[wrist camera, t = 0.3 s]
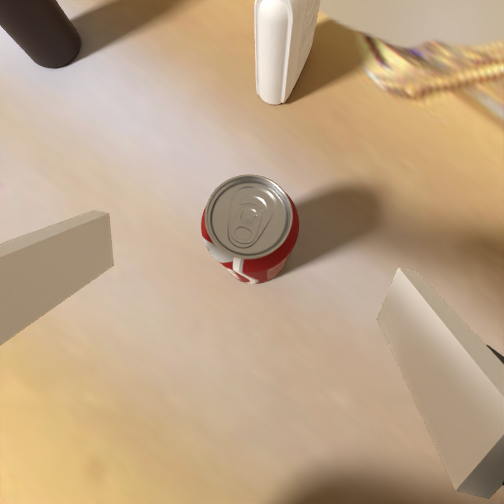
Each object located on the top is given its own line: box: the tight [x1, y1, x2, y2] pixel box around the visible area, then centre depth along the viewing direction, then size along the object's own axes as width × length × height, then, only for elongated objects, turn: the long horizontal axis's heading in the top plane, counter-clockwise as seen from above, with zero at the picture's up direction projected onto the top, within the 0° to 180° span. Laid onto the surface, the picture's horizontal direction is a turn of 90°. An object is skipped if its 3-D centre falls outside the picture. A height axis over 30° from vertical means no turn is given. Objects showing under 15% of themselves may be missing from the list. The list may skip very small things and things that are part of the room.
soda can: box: [201, 175, 299, 284], centre depth 22 cm, size 7×7×12 cm
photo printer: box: [254, 0, 320, 105], centre depth 26 cm, size 10×4×12 cm, turn 157°
